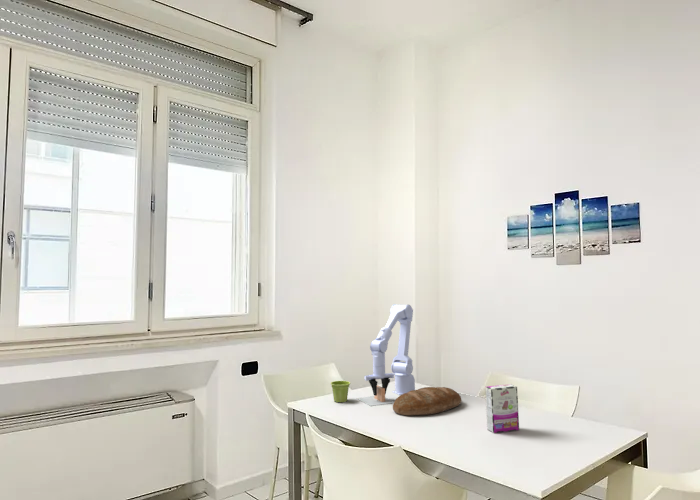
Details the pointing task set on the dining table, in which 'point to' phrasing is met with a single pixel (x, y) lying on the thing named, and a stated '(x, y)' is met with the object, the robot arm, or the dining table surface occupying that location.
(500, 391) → the candy bar box
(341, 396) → the plant pot
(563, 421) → the dining table surface
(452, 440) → the dining table surface
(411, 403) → the bread
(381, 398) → the tile
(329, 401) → the dining table surface
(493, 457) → the dining table surface
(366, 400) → the mat
